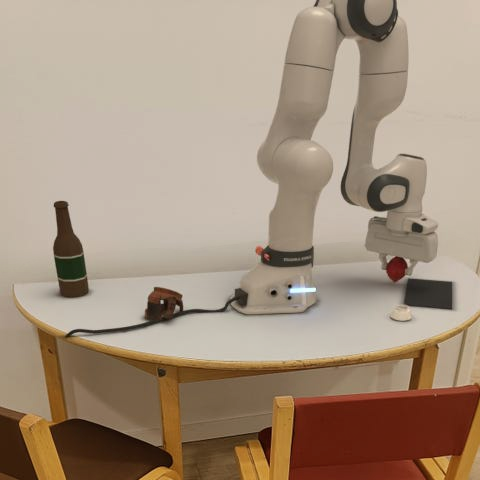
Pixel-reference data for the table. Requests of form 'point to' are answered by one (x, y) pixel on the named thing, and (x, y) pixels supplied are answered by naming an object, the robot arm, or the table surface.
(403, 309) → the white jar
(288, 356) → the table surface
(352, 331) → the table surface
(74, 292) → the beer bottle
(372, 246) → the robot arm
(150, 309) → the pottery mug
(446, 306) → the placemat
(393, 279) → the red round fruit
